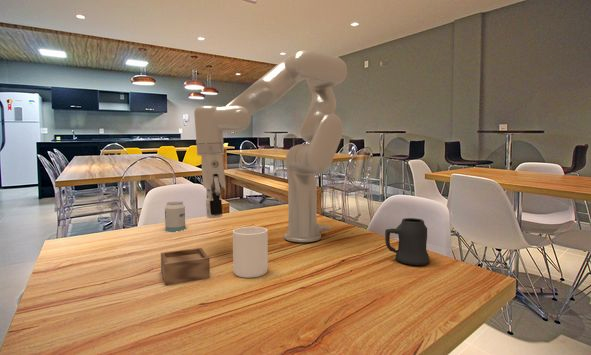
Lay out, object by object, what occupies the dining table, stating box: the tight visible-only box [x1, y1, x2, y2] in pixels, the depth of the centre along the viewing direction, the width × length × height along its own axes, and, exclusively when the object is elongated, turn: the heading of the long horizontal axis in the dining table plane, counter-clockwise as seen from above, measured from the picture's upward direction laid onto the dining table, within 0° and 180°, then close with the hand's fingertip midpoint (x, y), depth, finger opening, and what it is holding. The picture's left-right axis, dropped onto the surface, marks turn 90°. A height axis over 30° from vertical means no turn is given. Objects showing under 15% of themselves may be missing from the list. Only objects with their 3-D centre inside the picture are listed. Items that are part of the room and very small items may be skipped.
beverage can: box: [164, 201, 186, 233], centre depth 123 cm, size 7×7×12 cm
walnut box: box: [160, 247, 211, 286], centre depth 82 cm, size 10×10×5 cm
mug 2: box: [384, 217, 430, 266], centre depth 93 cm, size 12×9×11 cm
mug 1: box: [232, 226, 269, 279], centre depth 85 cm, size 9×12×11 cm
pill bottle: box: [205, 191, 223, 219], centre depth 97 cm, size 4×4×8 cm
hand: (214, 212), depth 97 cm, fingers closed on pill bottle, 4 cm apart
